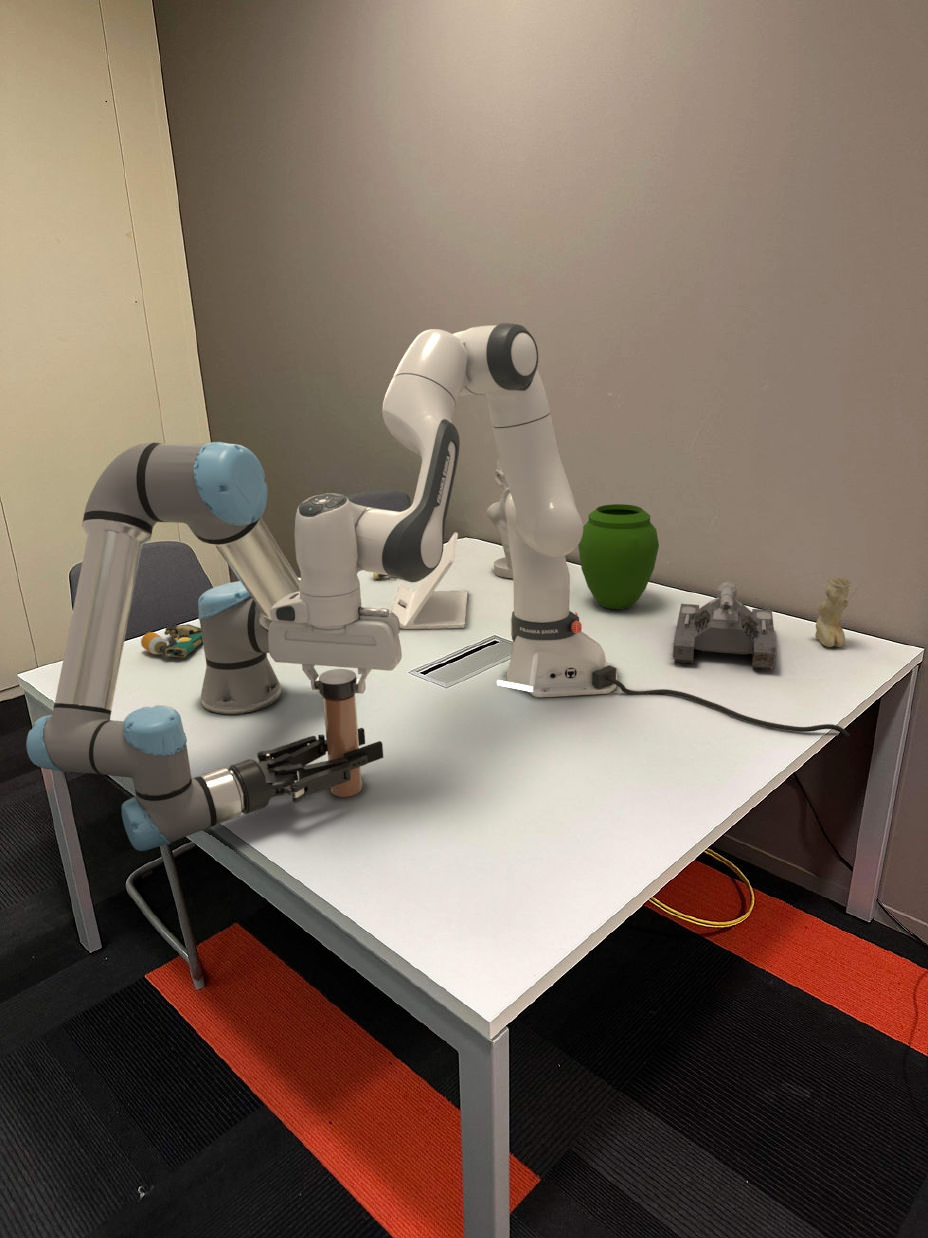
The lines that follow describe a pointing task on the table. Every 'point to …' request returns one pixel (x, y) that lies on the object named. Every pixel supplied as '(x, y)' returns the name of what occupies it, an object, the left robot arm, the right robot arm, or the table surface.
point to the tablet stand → (432, 599)
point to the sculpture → (832, 613)
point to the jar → (342, 739)
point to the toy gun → (379, 575)
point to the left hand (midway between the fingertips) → (372, 742)
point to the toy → (725, 629)
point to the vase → (618, 554)
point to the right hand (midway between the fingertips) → (338, 690)
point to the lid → (337, 683)
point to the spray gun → (173, 641)
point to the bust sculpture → (501, 526)
